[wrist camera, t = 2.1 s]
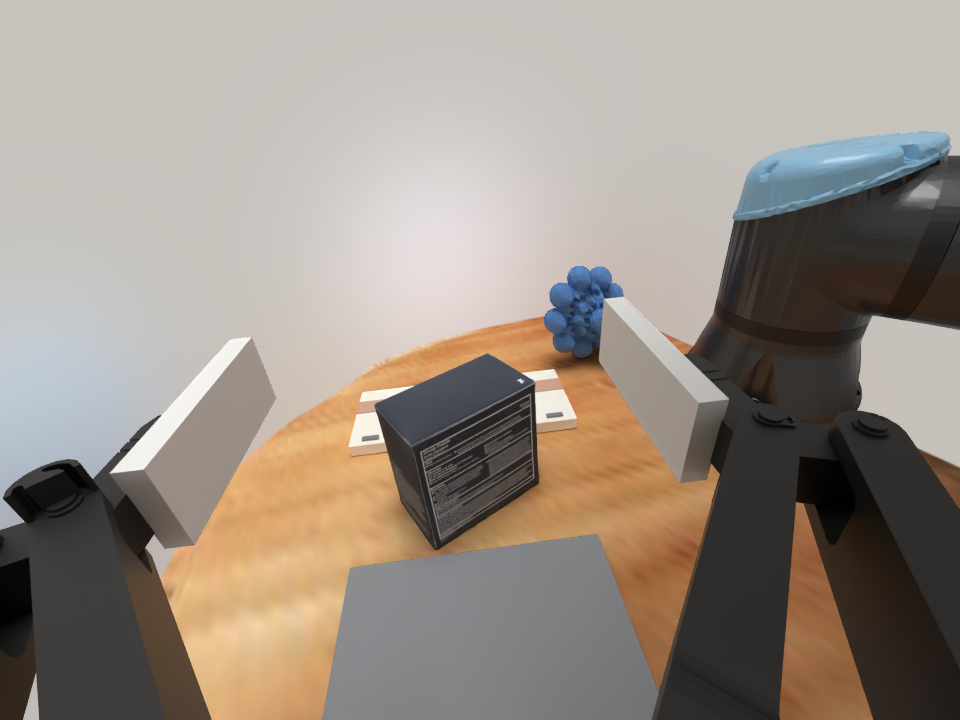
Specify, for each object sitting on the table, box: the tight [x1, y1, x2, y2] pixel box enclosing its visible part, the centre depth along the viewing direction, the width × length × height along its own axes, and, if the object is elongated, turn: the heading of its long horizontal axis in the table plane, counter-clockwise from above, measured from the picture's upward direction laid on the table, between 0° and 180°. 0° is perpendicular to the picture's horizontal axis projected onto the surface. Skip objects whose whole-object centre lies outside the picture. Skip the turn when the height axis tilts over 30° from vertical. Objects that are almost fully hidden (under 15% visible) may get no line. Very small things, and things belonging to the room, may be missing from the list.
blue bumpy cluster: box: [544, 266, 623, 358], centre depth 48 cm, size 12×7×12 cm, turn 120°
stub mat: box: [322, 534, 659, 720], centre depth 24 cm, size 18×14×1 cm
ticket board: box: [349, 369, 577, 456], centre depth 44 cm, size 22×9×1 cm, turn 95°
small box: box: [374, 353, 539, 549], centre depth 33 cm, size 11×6×10 cm, turn 126°
